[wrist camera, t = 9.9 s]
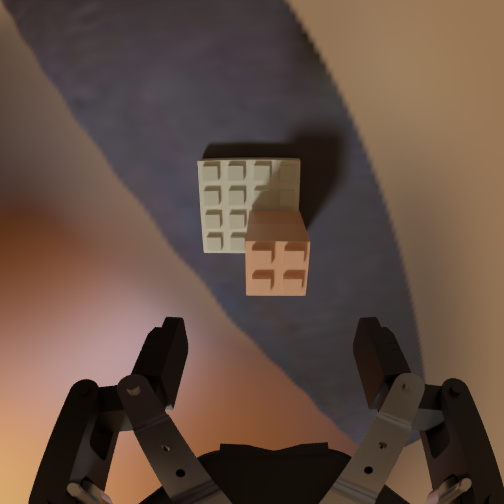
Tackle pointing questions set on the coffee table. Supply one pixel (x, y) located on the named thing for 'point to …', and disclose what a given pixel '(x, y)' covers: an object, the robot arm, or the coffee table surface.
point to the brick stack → (276, 253)
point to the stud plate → (242, 196)
